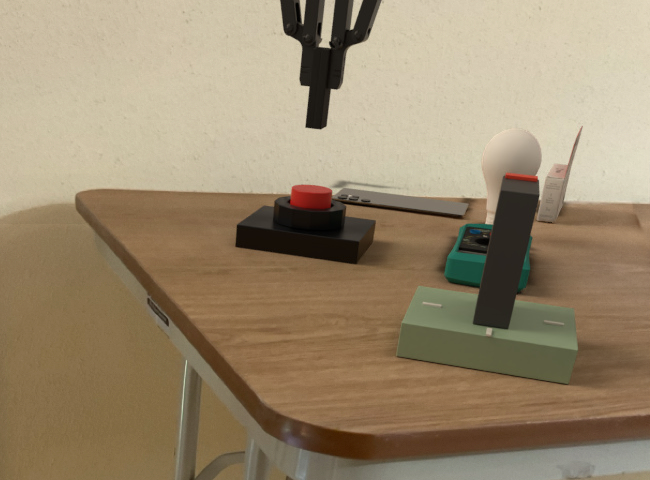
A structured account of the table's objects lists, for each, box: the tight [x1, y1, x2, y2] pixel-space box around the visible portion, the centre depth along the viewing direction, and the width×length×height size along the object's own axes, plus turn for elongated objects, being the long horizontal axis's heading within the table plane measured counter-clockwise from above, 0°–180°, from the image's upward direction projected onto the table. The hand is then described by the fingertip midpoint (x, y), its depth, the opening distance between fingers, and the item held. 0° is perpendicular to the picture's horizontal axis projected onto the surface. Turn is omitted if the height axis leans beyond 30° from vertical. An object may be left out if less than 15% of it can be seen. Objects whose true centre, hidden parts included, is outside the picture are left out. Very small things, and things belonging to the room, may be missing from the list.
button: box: [290, 184, 333, 209], centre depth 86 cm, size 4×4×2 cm
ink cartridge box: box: [536, 125, 584, 224], centre depth 108 cm, size 2×11×10 cm, turn 159°
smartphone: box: [332, 187, 469, 219], centre depth 109 cm, size 8×1×16 cm
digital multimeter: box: [443, 223, 534, 293], centre depth 84 cm, size 7×15×3 cm, turn 163°
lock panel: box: [395, 285, 579, 385], centre depth 65 cm, size 12×10×3 cm
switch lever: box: [473, 173, 541, 329], centre depth 62 cm, size 6×2×9 cm, turn 164°
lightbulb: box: [480, 127, 543, 224], centre depth 95 cm, size 6×6×11 cm
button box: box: [234, 195, 377, 265], centre depth 88 cm, size 12×10×4 cm
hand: (316, 126), depth 83 cm, fingers closed
